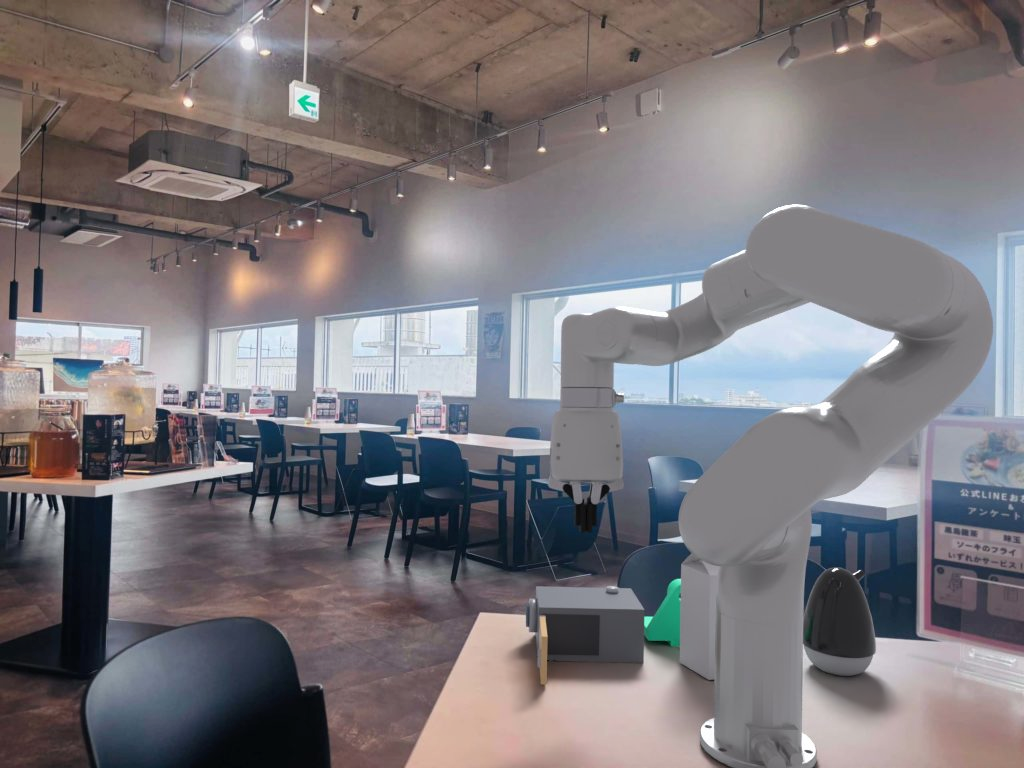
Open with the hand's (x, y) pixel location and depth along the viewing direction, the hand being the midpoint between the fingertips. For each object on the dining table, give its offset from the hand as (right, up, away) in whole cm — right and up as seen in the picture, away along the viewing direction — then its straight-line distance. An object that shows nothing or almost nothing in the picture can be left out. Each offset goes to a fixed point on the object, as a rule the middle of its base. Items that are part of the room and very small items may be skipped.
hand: (585, 530), depth 99 cm
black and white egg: (+39, -22, +6) cm, 45 cm away
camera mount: (+18, -22, +19) cm, 34 cm away
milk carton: (+20, -22, +5) cm, 30 cm away
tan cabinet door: (-6, -21, +2) cm, 21 cm away
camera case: (+2, -21, +13) cm, 25 cm away
